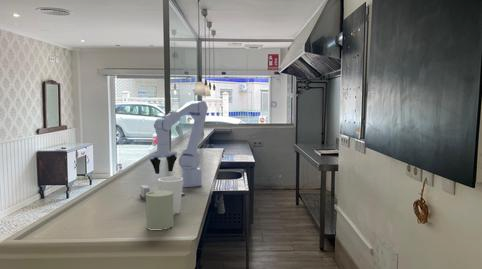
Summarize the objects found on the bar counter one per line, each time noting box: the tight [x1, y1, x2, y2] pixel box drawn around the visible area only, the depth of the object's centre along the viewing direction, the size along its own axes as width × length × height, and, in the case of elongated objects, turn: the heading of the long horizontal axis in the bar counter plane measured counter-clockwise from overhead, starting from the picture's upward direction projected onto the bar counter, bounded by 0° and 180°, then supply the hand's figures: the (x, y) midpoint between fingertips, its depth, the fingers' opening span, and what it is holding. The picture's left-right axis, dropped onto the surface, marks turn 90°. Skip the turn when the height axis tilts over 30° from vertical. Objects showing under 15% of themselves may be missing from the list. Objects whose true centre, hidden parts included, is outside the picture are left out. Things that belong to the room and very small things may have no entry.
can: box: [145, 189, 175, 229], centre depth 120 cm, size 9×9×12 cm
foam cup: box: [157, 176, 184, 215], centre depth 136 cm, size 10×9×13 cm
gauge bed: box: [139, 184, 186, 202], centre depth 162 cm, size 18×10×5 cm, turn 118°
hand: (163, 172), depth 168 cm, fingers open, 7 cm apart
